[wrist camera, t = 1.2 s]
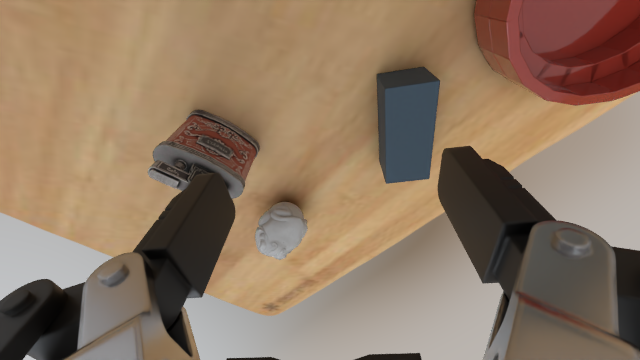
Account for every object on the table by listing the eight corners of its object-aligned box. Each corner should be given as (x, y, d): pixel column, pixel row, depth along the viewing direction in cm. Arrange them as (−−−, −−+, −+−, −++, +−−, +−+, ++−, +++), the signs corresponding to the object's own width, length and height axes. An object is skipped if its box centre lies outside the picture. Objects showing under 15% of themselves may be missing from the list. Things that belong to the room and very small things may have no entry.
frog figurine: (252, 210, 36) (238, 251, 31) (285, 182, 33) (277, 222, 28) (285, 231, 39) (279, 273, 33) (319, 207, 36) (318, 249, 30)
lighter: (264, 141, 30) (242, 200, 22) (251, 162, 32) (226, 223, 24) (194, 102, 27) (140, 152, 19) (185, 127, 29) (131, 182, 21)
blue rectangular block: (376, 73, 25) (384, 88, 22) (424, 66, 25) (440, 80, 21) (379, 161, 31) (385, 183, 28) (417, 156, 31) (429, 179, 27)
